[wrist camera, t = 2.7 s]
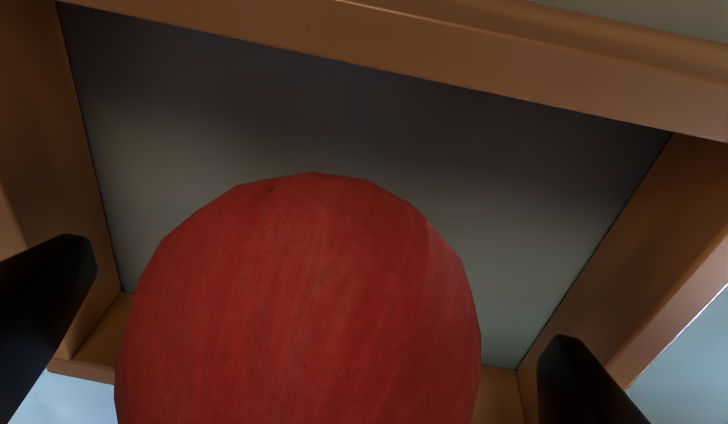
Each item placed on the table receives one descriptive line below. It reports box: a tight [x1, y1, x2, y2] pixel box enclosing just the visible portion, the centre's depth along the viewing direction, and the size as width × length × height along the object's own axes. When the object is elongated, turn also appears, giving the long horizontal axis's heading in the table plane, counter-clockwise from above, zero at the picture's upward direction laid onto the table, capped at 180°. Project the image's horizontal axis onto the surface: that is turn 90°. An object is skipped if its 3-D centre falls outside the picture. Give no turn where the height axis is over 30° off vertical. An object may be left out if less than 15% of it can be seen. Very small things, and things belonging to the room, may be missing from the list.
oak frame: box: [0, 0, 728, 424], centre depth 10 cm, size 11×14×2 cm
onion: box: [114, 172, 481, 424], centre depth 8 cm, size 6×6×8 cm
